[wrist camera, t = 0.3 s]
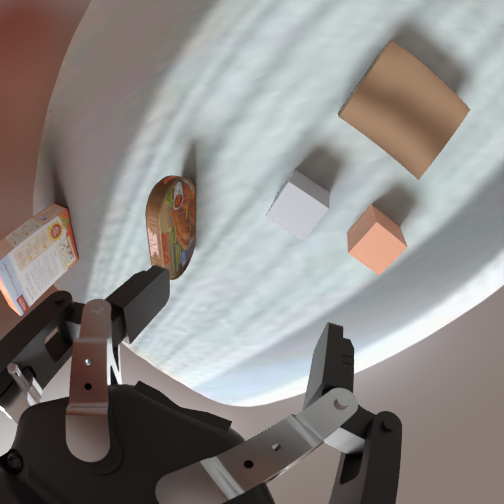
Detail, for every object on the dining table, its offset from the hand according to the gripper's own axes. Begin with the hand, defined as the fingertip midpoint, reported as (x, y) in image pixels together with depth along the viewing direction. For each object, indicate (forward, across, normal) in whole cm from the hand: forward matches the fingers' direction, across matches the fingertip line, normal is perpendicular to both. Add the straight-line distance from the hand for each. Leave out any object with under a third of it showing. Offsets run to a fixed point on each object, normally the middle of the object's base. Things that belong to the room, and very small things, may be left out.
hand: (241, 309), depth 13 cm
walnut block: (+21, -8, -14) cm, 27 cm away
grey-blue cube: (+23, 0, 0) cm, 23 cm away
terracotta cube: (+24, -10, +2) cm, 26 cm away
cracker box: (+24, +47, +19) cm, 56 cm away
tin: (+24, +15, +7) cm, 29 cm away
